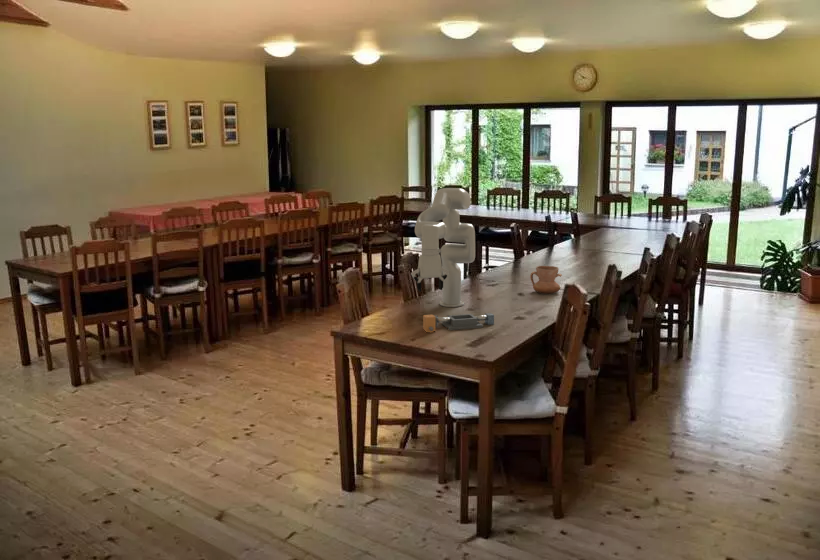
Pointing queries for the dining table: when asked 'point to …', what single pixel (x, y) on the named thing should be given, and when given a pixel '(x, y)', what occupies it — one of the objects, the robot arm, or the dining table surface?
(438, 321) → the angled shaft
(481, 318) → the straight shaft
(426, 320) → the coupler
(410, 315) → the dining table surface
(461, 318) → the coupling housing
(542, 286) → the ceramic jug
